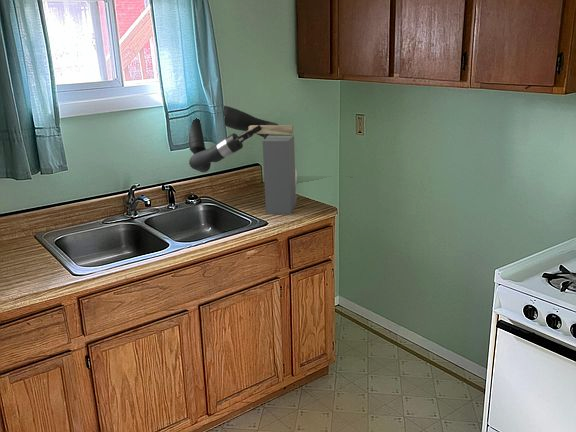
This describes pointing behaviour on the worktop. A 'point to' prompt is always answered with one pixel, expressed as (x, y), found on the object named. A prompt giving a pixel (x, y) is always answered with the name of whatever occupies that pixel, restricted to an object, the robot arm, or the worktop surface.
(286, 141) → the tall grey upright prism
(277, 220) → the worktop surface
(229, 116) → the robot arm
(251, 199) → the worktop surface
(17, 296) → the worktop surface
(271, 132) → the birch slat
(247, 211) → the worktop surface
